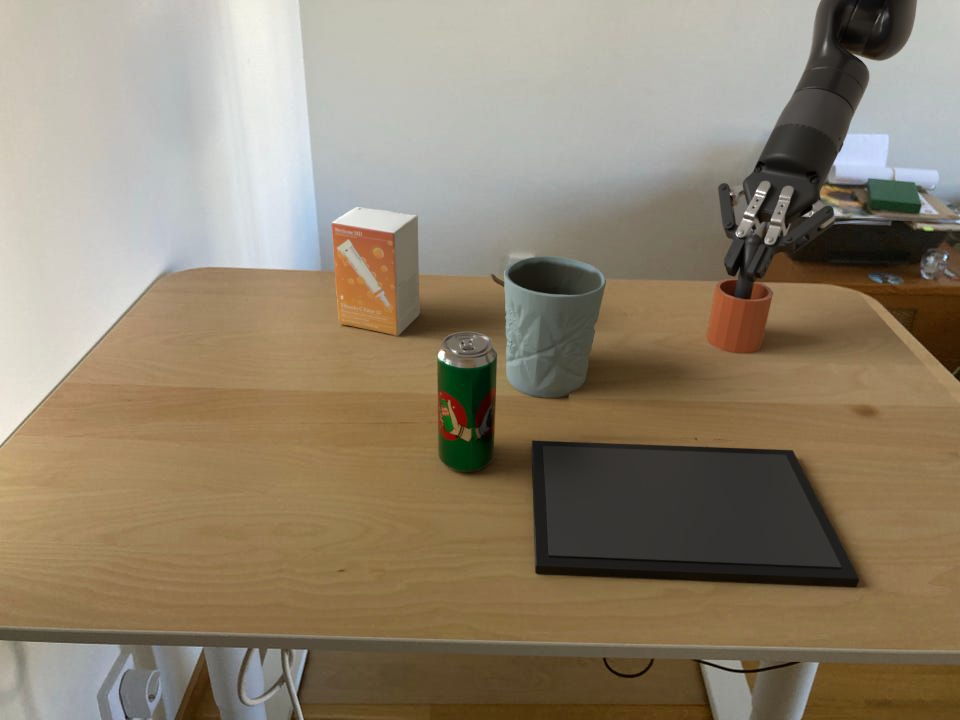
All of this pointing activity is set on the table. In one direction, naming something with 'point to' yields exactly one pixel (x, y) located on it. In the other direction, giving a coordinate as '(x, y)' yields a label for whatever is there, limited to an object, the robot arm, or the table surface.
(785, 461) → the tablet
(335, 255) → the small box
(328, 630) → the table surface
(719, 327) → the pen pot
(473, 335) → the soda can
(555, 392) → the embossed blue-green cup
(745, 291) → the stylus
